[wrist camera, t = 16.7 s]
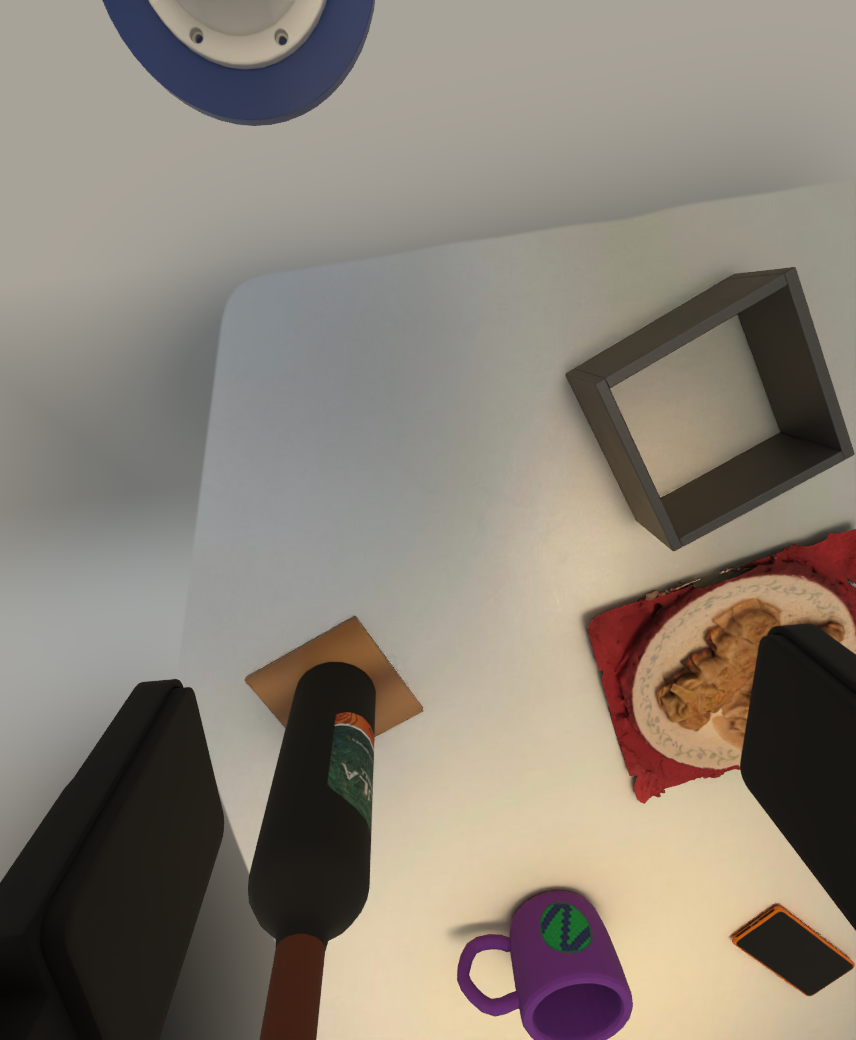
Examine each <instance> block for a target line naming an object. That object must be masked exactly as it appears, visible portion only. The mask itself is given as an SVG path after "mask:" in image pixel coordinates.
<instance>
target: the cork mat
mask: <svg viewBox="0 0 856 1040" xmlns="http://www.w3.org/2000/svg"><path fill="white" fill-rule="evenodd" d="M326 662H344V663H348V664H351V665H355V666H356V667H358V668H360V669H361V670H363V671H364V672H365V673H366V674H367V675H368V676H369V677H370V679H371V680H372V681H373V684H374V687H375V690H376V706H375V735H374V737H376V736H377V735H379V734H381V733H383V732H385V731H387V730H389V729H391V728H393V727H394V726H396V725H398V724H400V723H402V722H404V721H406V720H408V719H409V718H411V717H413V716H415V715H417V714H419V713H421V712H423V708H422V706H421V705H420V704H419V702H418V701H417V699H416V698H415V697H414V695H413V694H412V693H411V691H410V690H409V688H408V687H407V686H406V684H405V683H404V682H403V680H402V679H401V678H400V676H399V675H398V673H397V672H396V671H395V669H394V668H393V667H392V665H391V664H390V663H389V661H388V660H387V658H386V657H385V656H384V654H383V653H382V652H381V650H380V649H379V648H378V646H377V645H376V643H375V642H374V641H373V639H372V638H371V637H370V635H369V634H368V633H367V631H366V630H365V628H364V627H363V626H362V624H361V623H360V622H359V620H358V619H357V618H356V616H354V617H352V618H350V619H349V620H347V621H345V622H343V623H342V624H340V625H338V626H336V627H334V628H333V629H331V630H329V631H327V632H326V633H324V634H322V635H320V636H318V637H317V638H315V639H313V640H311V641H310V642H308V643H306V644H304V645H303V646H301V647H299V648H297V649H295V650H294V651H292V652H290V653H288V654H287V655H285V656H283V657H281V658H279V659H278V660H276V661H274V662H272V663H271V664H269V665H267V666H265V667H263V668H262V669H260V670H258V671H256V672H255V673H253V674H251V675H249V676H247V677H246V678H245V681H246V683H247V684H248V685H249V686H250V687H251V688H252V690H253V691H254V692H255V693H256V694H257V695H258V697H259V698H260V699H261V700H262V701H263V702H264V704H265V705H266V706H267V707H268V708H269V709H270V711H271V712H272V713H273V714H274V715H275V716H276V718H277V719H278V720H279V721H280V722H281V723H282V725H283V726H284V727H285V728H286V725H287V721H288V717H289V713H290V709H291V705H292V701H293V697H294V693H295V690H296V687H297V684H298V681H299V680H300V678H301V677H302V676H303V675H304V674H305V673H306V671H308V670H310V669H311V668H313V667H315V666H316V665H319V664H323V663H326Z"/></svg>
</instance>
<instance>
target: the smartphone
mask: <svg viewBox="0 0 856 1040" xmlns="http://www.w3.org/2000/svg"><path fill="white" fill-rule="evenodd" d="M732 942H733V943H734V945H736V946H737V947H739V948H740V949H741V950H743V951H744V952H746V953H747V954H748V955H750V956H751V957H753V958H754V959H755V960H757V961H758V962H760V963H761V964H763V965H764V966H765V967H767V968H768V969H770V970H771V971H772V972H774V973H775V974H776V975H777V976H779V977H780V978H782V979H784V980H785V981H786V982H787V983H789V984H790V985H792V986H793V987H794V988H796V989H798V990H799V991H801V992H802V993H803V994H805V995H806V996H812V995H814V994H816V993H817V992H819V991H820V990H822V989H823V988H825V987H826V986H828V985H829V984H831V983H832V982H834V981H835V980H837V979H838V978H840V977H841V976H843V975H844V974H846V973H847V972H849V971H850V970H852V969H853V968H854V966H855V964H854V962H853V961H852V960H850V959H849V958H848V957H846V956H845V955H844V954H842V953H841V952H840V951H839V950H837V949H836V948H835V947H833V946H832V945H831V944H829V943H828V942H827V941H826V940H824V939H823V938H822V937H820V936H819V935H818V934H816V933H815V932H814V931H812V930H811V929H810V928H809V927H807V926H806V925H805V924H803V923H802V922H801V921H799V920H798V919H797V918H795V917H794V916H793V915H792V914H790V913H789V912H788V911H786V910H785V909H784V908H782V907H781V906H776V907H774V908H772V909H771V910H769V911H768V912H767V913H765V914H764V915H762V916H761V917H760V918H758V919H757V920H755V921H754V922H753V923H751V924H750V925H748V926H747V927H746V928H744V929H743V930H741V931H740V932H739V933H737V934H736V935H735V936H734V937H733V939H732Z"/></svg>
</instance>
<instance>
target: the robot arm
mask: <svg viewBox="0 0 856 1040" xmlns="http://www.w3.org/2000/svg"><path fill="white" fill-rule="evenodd" d="M326 1H327V0H149V2H150V4H151V6H152V7H153V9H154V10H155V11H156V13H157V14H158V16H159V17H160V19H161V20H162V21H163V22H164V24H165V25H166V26H167V27H168V28H169V30H170V31H171V32H172V33H173V34H174V36H175V37H176V38H177V39H179V40H180V41H181V42H182V43H183V44H184V45H186V46H187V47H188V48H189V49H190V50H191V51H193V52H195V53H196V54H198V55H200V56H201V57H203V58H205V59H206V60H208V61H210V62H213V63H216V64H219V65H222V66H224V67H228V68H235V69H243V70H247V69H258V68H264V67H267V66H270V65H273V64H276V63H279V62H280V61H282V60H284V59H285V58H287V57H288V56H290V55H291V54H293V53H294V52H295V51H296V50H297V49H298V48H299V47H300V46H301V45H302V44H304V43H305V42H306V41H307V39H308V38H309V36H310V35H311V33H312V32H313V30H314V29H315V27H316V26H317V24H318V22H319V20H320V17H321V15H322V13H323V10H324V8H325V5H326ZM199 37H202V38H203V41H202V42H201V43H197V39H198V38H199ZM281 39H286V41H287V43H286V44H285V45H280V41H281ZM740 770H741V774H742V778H743V780H744V782H745V784H746V786H747V788H748V789H749V790H750V792H751V793H752V794H753V796H754V797H755V798H756V800H757V801H758V802H759V804H760V805H761V806H762V807H763V809H764V810H765V811H766V813H767V814H768V815H769V817H770V818H771V819H772V821H773V822H774V823H775V825H776V826H777V827H778V829H779V830H780V831H781V833H782V834H783V835H784V837H785V838H786V839H787V840H788V842H789V843H790V844H791V846H792V847H793V848H794V850H795V851H796V852H797V854H798V855H799V856H800V858H801V859H802V860H803V862H804V863H805V864H806V866H807V867H808V868H809V870H810V871H811V872H812V873H813V875H814V876H815V877H816V879H817V880H818V881H819V883H820V884H821V885H822V887H823V888H824V889H825V891H826V892H827V893H828V895H829V896H830V897H831V899H832V900H833V901H834V903H835V904H836V905H837V906H838V908H839V909H840V910H841V912H842V913H843V914H844V916H845V917H846V918H847V920H848V921H849V922H850V924H851V925H852V926H853V928H854V929H855V930H856V654H855V653H853V652H852V651H850V650H849V649H848V648H846V647H845V646H844V645H842V644H841V643H840V642H838V641H837V640H835V639H834V638H833V637H831V636H830V635H829V634H827V633H826V632H824V631H823V630H822V629H820V628H819V627H817V626H815V625H814V624H808V623H805V624H794V625H782V626H775V627H773V628H771V629H770V631H769V632H768V635H767V636H764V637H762V639H761V640H760V643H759V647H758V653H757V660H756V666H755V672H754V678H753V685H752V691H751V697H750V704H749V710H748V716H747V722H746V729H745V735H744V741H743V748H742V754H741V760H740ZM223 831H224V815H223V810H222V806H221V801H220V797H219V793H218V789H217V785H216V780H215V776H214V772H213V768H212V764H211V759H210V755H209V751H208V747H207V743H206V738H205V734H204V730H203V726H202V722H201V717H200V713H199V709H198V705H197V701H196V696H195V693H194V691H193V689H192V688H190V687H186V688H183V685H182V683H181V682H180V680H177V679H172V680H162V681H149V682H141V683H139V684H138V685H137V686H136V687H135V688H134V690H133V691H132V693H131V694H130V696H129V697H128V699H127V700H126V701H125V703H124V705H123V706H122V707H121V709H120V710H119V712H118V713H117V715H116V716H115V718H114V720H113V721H112V722H111V724H110V725H109V727H108V728H107V730H106V731H105V733H104V734H103V735H102V737H101V738H100V740H99V742H98V743H97V744H96V746H95V747H94V749H93V750H92V752H91V753H90V755H89V756H88V758H87V759H86V761H85V762H84V764H83V765H82V767H81V768H80V769H79V771H78V772H77V774H76V775H75V777H74V778H73V779H72V780H71V782H70V783H69V784H68V785H67V786H66V787H65V789H64V790H63V791H62V793H61V794H60V796H59V797H58V799H57V800H56V802H55V803H54V805H53V806H52V808H51V809H50V811H49V812H48V814H47V815H46V816H45V818H44V819H43V821H42V822H41V824H40V826H39V827H38V828H37V830H36V831H35V833H34V834H33V836H32V837H31V839H30V840H29V842H28V843H27V844H26V846H25V847H24V849H23V850H22V852H21V853H20V855H19V856H18V858H17V859H16V861H15V862H14V863H13V865H12V866H11V868H10V869H9V871H8V872H7V874H6V875H5V877H4V878H3V880H2V881H1V883H0V1040H159V1038H160V1035H161V1032H162V1028H163V1025H164V1022H165V1019H166V1016H167V1013H168V1009H169V1006H170V1003H171V1000H172V997H173V993H174V990H175V987H176V984H177V981H178V978H179V975H180V971H181V968H182V965H183V962H184V959H185V956H186V952H187V949H188V946H189V943H190V939H191V936H192V933H193V930H194V927H195V924H196V921H197V917H198V914H199V911H200V908H201V905H202V902H203V898H204V895H205V892H206V889H207V886H208V883H209V879H210V876H211V873H212V870H213V867H214V863H215V860H216V857H217V854H218V850H219V848H220V844H221V841H222V837H223Z"/></svg>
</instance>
